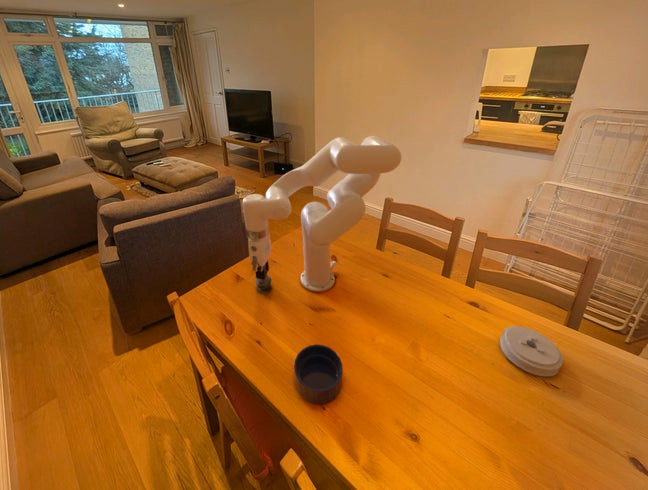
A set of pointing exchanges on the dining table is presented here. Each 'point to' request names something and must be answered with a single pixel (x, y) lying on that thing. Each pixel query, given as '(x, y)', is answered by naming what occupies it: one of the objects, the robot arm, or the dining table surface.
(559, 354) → the lid
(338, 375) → the dark blue round container
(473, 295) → the dining table surface
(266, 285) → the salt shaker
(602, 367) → the dining table surface
